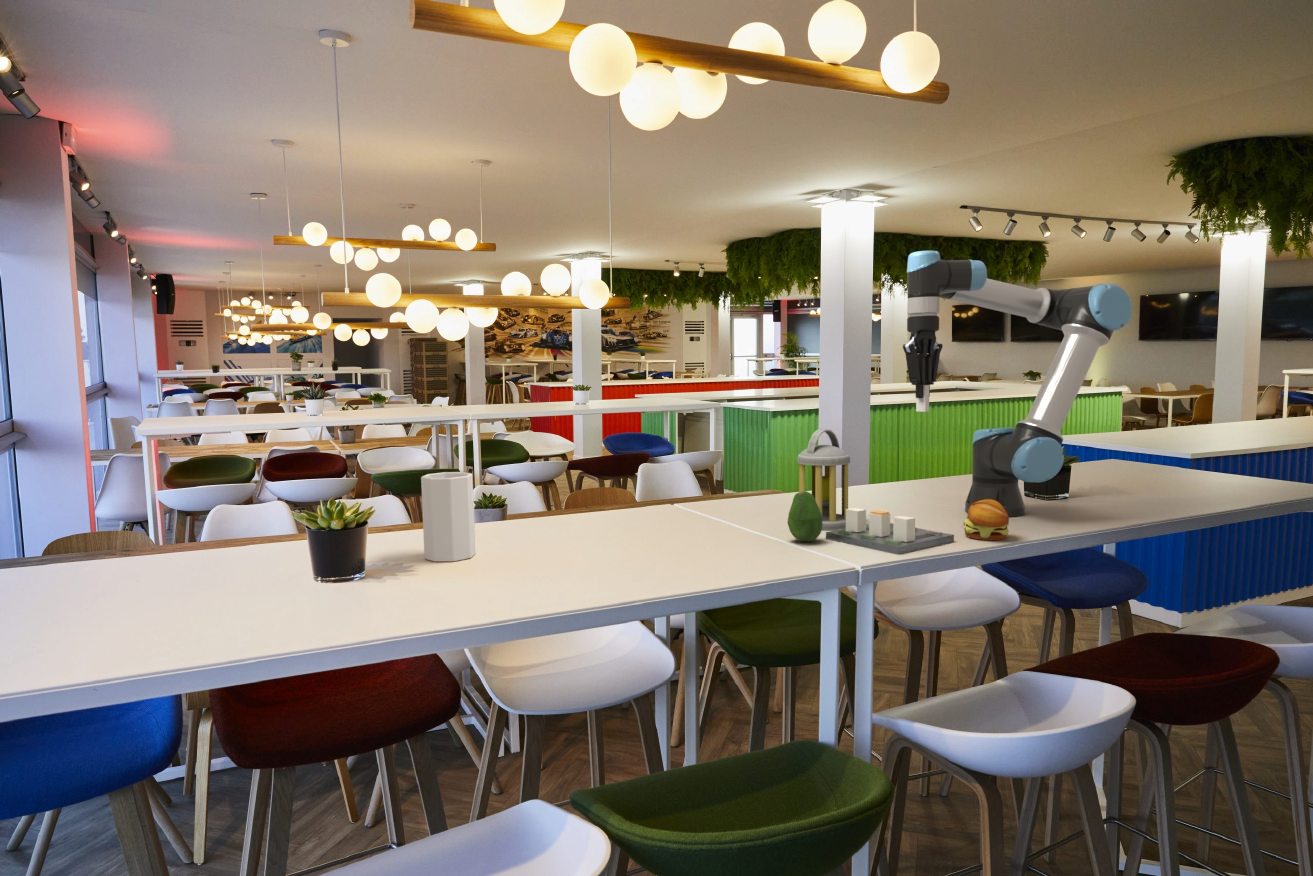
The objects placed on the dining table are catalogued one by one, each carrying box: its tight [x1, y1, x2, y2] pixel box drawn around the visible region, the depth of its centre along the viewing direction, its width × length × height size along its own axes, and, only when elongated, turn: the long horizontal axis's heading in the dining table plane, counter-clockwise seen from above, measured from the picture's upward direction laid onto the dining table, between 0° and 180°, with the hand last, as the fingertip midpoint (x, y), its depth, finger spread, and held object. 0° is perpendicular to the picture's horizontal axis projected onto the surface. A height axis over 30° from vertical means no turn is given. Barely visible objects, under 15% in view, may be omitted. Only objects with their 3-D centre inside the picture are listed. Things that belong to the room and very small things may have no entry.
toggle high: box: [892, 515, 916, 542], centre depth 185 cm, size 3×4×5 cm
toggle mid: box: [868, 509, 891, 537], centre depth 191 cm, size 3×4×5 cm
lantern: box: [796, 427, 851, 532], centre depth 211 cm, size 14×14×25 cm
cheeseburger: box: [963, 499, 1010, 541], centre depth 194 cm, size 10×11×10 cm
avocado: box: [787, 490, 823, 543], centre depth 193 cm, size 8×8×12 cm
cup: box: [420, 471, 477, 563], centre depth 184 cm, size 11×11×18 cm
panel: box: [825, 522, 955, 555], centre depth 193 cm, size 20×21×2 cm
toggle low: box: [846, 507, 867, 532], centre depth 196 cm, size 3×4×5 cm
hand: (922, 411), depth 204 cm, fingers closed
